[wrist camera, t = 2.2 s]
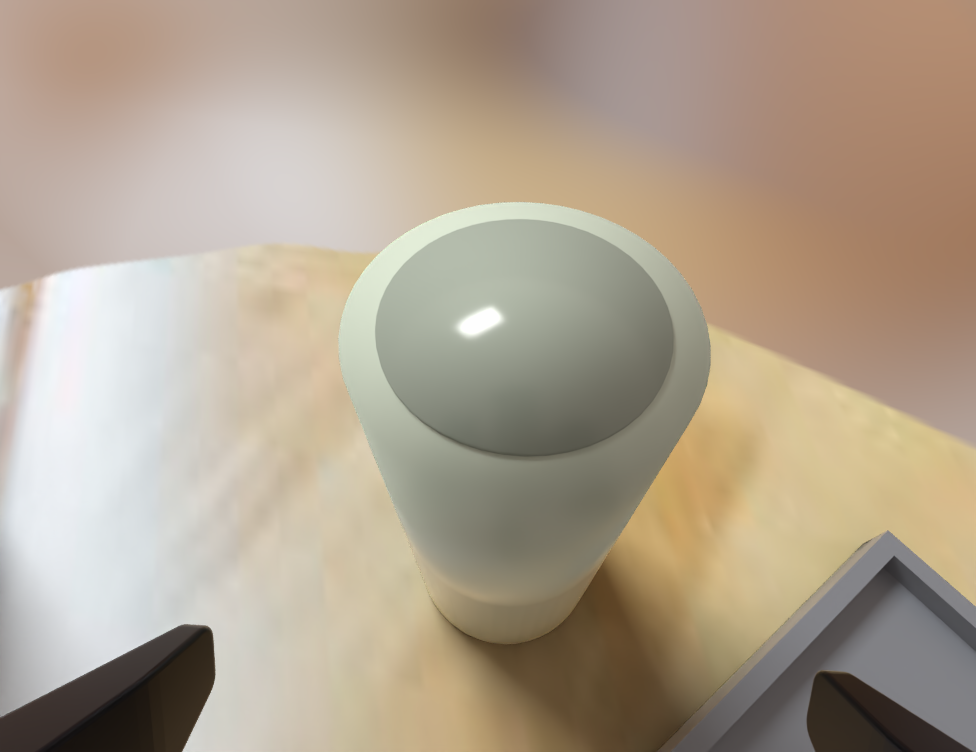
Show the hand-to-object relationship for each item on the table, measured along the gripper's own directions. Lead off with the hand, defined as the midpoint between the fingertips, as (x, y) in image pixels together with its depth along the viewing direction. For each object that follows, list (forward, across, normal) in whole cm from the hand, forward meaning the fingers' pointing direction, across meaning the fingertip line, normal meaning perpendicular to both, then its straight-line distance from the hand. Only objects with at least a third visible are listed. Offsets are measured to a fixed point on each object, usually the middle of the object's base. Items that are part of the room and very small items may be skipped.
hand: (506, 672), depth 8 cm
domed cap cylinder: (+11, 0, +4) cm, 12 cm away
